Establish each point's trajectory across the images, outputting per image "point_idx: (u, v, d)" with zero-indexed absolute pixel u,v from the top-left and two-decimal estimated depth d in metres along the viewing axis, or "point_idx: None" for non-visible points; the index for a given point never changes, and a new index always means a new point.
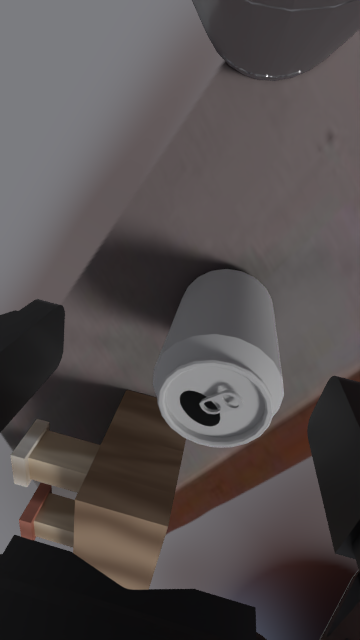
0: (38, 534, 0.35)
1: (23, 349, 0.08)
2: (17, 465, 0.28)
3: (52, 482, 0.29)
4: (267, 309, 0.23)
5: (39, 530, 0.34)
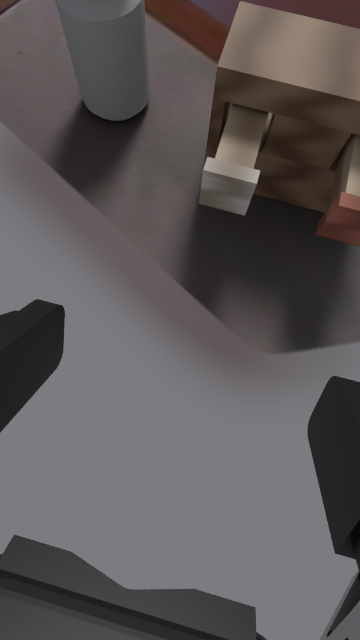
0: None
1: (23, 349, 0.08)
2: (221, 169, 0.24)
3: (252, 149, 0.26)
4: None
5: None
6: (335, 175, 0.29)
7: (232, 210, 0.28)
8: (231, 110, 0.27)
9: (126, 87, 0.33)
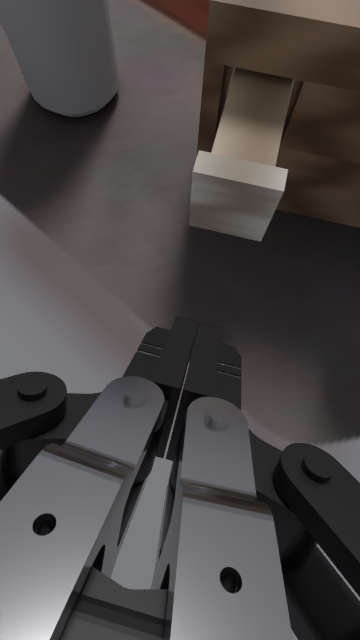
0: None
1: None
2: (223, 169, 0.15)
3: (271, 138, 0.16)
4: None
5: None
6: None
7: (241, 234, 0.18)
8: (234, 80, 0.17)
9: (82, 65, 0.24)
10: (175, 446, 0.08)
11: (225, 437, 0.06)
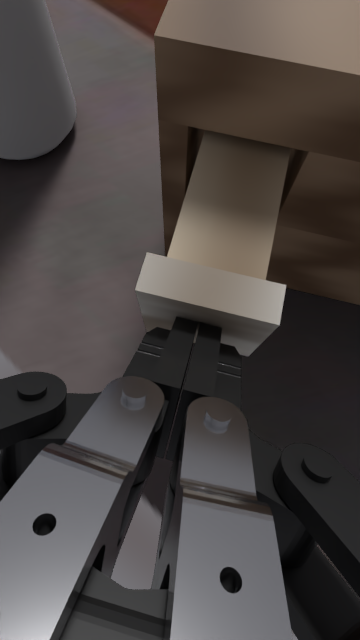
0: None
1: None
2: (184, 285, 0.09)
3: (261, 224, 0.10)
4: None
5: None
6: None
7: None
8: (207, 131, 0.12)
9: (16, 103, 0.18)
10: (175, 446, 0.08)
11: (225, 437, 0.06)
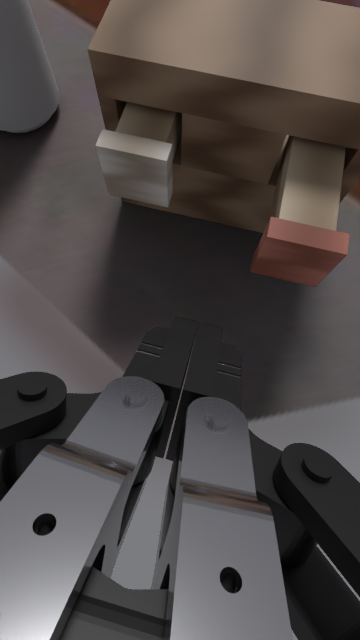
0: (326, 228, 0.18)
1: None
2: (120, 143, 0.18)
3: (165, 119, 0.20)
4: None
5: (308, 222, 0.18)
6: (275, 191, 0.22)
7: (151, 201, 0.22)
8: None
9: (15, 90, 0.26)
10: (175, 446, 0.08)
11: (225, 437, 0.06)
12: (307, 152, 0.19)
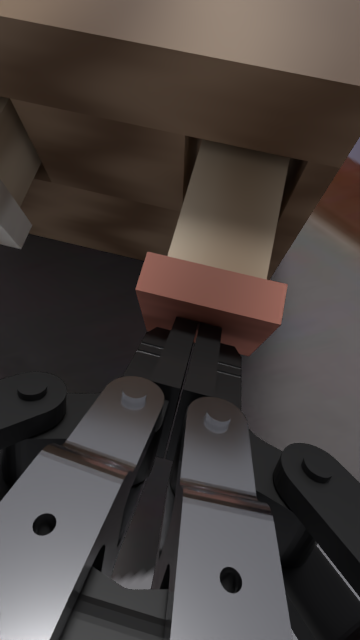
0: (251, 271, 0.10)
1: None
2: None
3: None
4: None
5: (220, 259, 0.10)
6: None
7: None
8: None
9: None
10: (175, 446, 0.08)
11: (225, 437, 0.06)
12: None
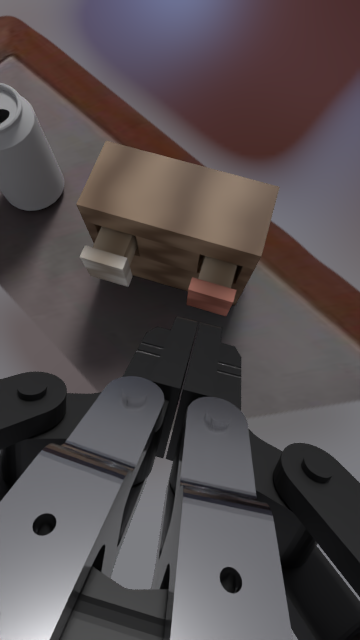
0: (225, 284, 0.30)
1: None
2: (95, 256, 0.30)
3: (126, 237, 0.31)
4: None
5: (215, 280, 0.30)
6: None
7: (117, 282, 0.33)
8: None
9: (32, 189, 0.38)
10: (175, 446, 0.08)
11: (225, 437, 0.06)
12: None
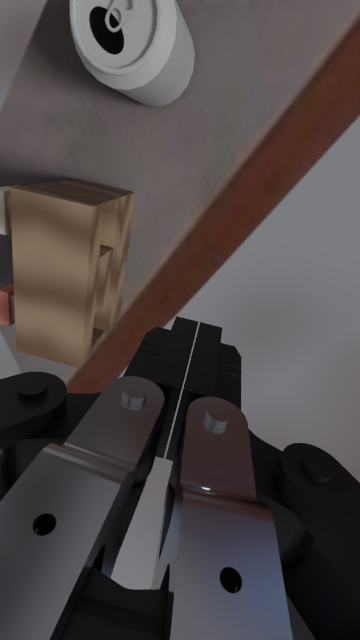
0: None
1: None
2: None
3: None
4: None
5: None
6: None
7: None
8: None
9: None
10: (175, 446, 0.08)
11: (225, 437, 0.06)
12: None
